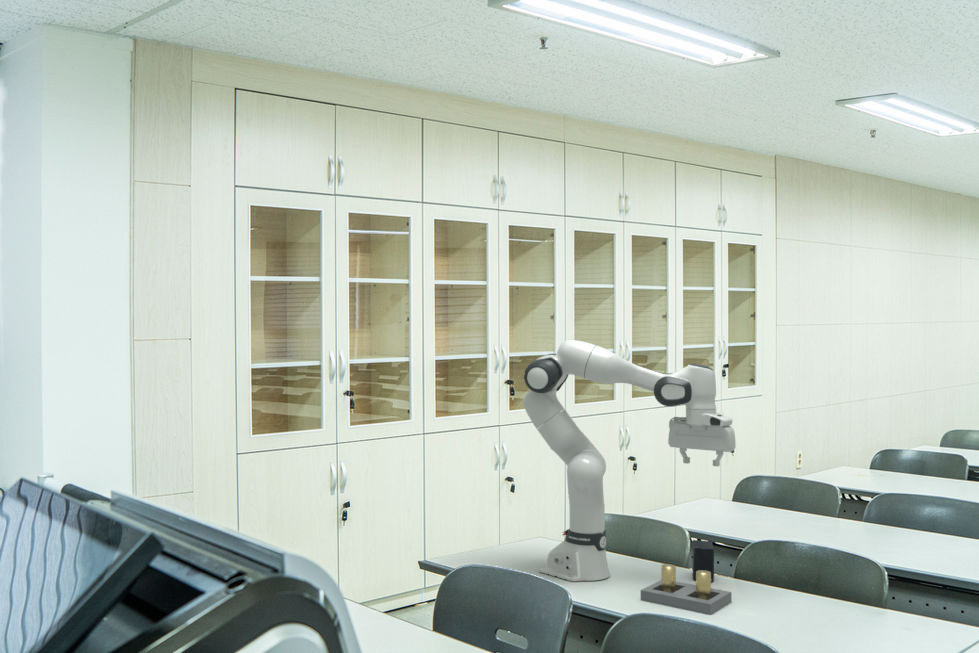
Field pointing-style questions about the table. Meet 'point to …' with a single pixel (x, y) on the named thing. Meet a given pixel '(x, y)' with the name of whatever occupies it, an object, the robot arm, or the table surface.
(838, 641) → the table surface
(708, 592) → the brass billet
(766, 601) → the table surface
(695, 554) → the small box
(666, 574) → the seated brass billet
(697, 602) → the tray
